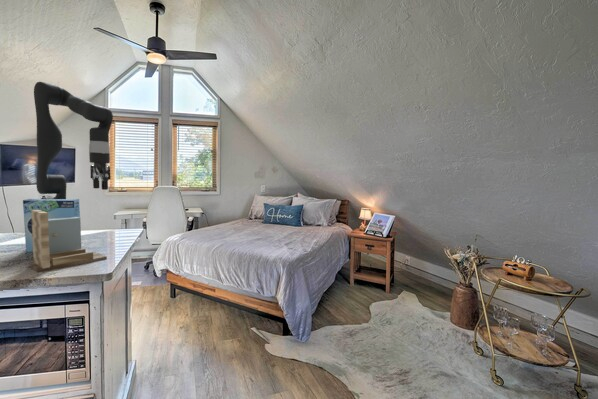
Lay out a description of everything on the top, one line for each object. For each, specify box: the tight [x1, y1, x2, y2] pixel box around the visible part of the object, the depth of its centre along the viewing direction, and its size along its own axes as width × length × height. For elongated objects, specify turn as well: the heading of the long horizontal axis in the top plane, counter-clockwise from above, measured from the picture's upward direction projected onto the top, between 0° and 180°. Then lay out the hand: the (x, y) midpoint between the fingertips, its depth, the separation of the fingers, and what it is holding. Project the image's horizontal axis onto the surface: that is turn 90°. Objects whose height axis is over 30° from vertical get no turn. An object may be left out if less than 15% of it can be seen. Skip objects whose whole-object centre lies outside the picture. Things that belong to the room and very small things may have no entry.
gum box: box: [22, 198, 81, 253], centre depth 133 cm, size 20×5×23 cm, turn 103°
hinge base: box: [28, 210, 108, 273], centre depth 118 cm, size 11×22×21 cm, turn 145°
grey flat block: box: [48, 217, 82, 254], centre depth 125 cm, size 5×12×16 cm, turn 145°
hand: (100, 188), depth 133 cm, fingers open, 8 cm apart
